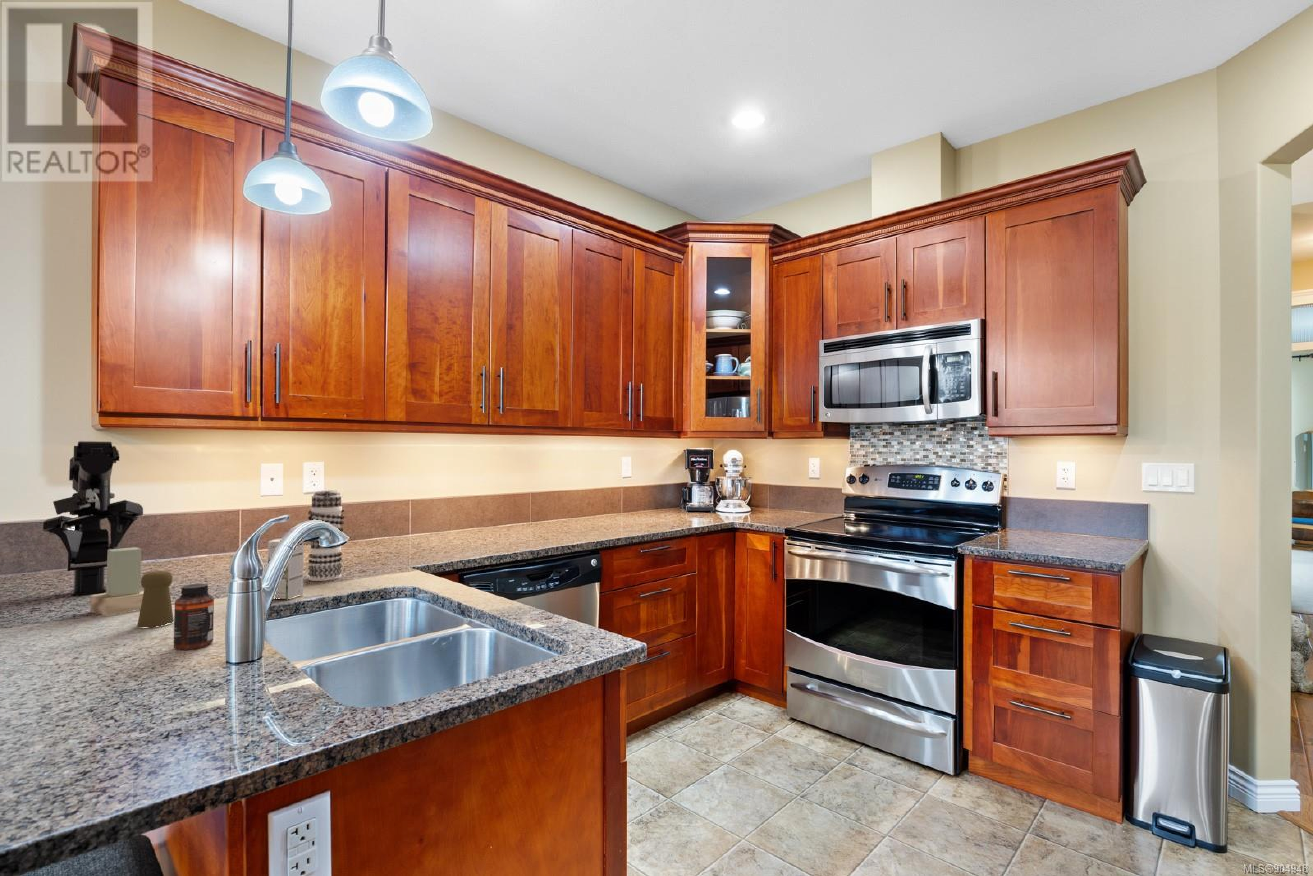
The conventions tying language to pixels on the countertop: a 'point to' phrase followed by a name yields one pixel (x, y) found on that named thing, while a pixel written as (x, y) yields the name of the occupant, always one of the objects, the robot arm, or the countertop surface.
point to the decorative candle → (322, 560)
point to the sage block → (123, 571)
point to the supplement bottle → (193, 618)
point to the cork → (156, 599)
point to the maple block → (115, 603)
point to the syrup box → (289, 572)
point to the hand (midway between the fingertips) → (93, 552)
